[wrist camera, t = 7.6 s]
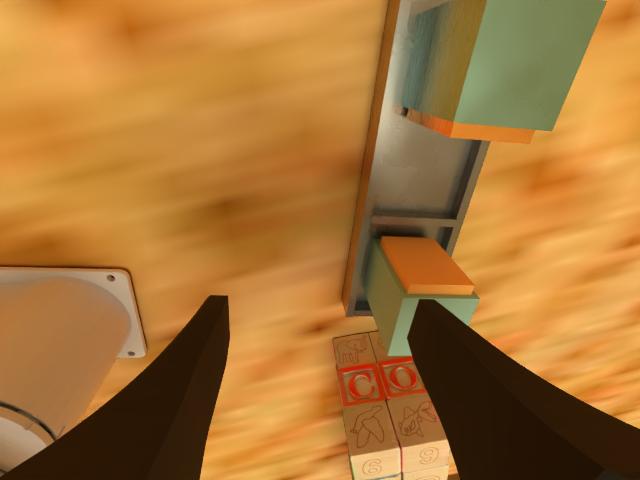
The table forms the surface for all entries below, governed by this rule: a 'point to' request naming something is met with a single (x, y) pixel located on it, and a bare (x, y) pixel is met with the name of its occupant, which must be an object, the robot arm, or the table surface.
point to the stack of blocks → (387, 414)
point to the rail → (406, 167)
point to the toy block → (413, 286)
